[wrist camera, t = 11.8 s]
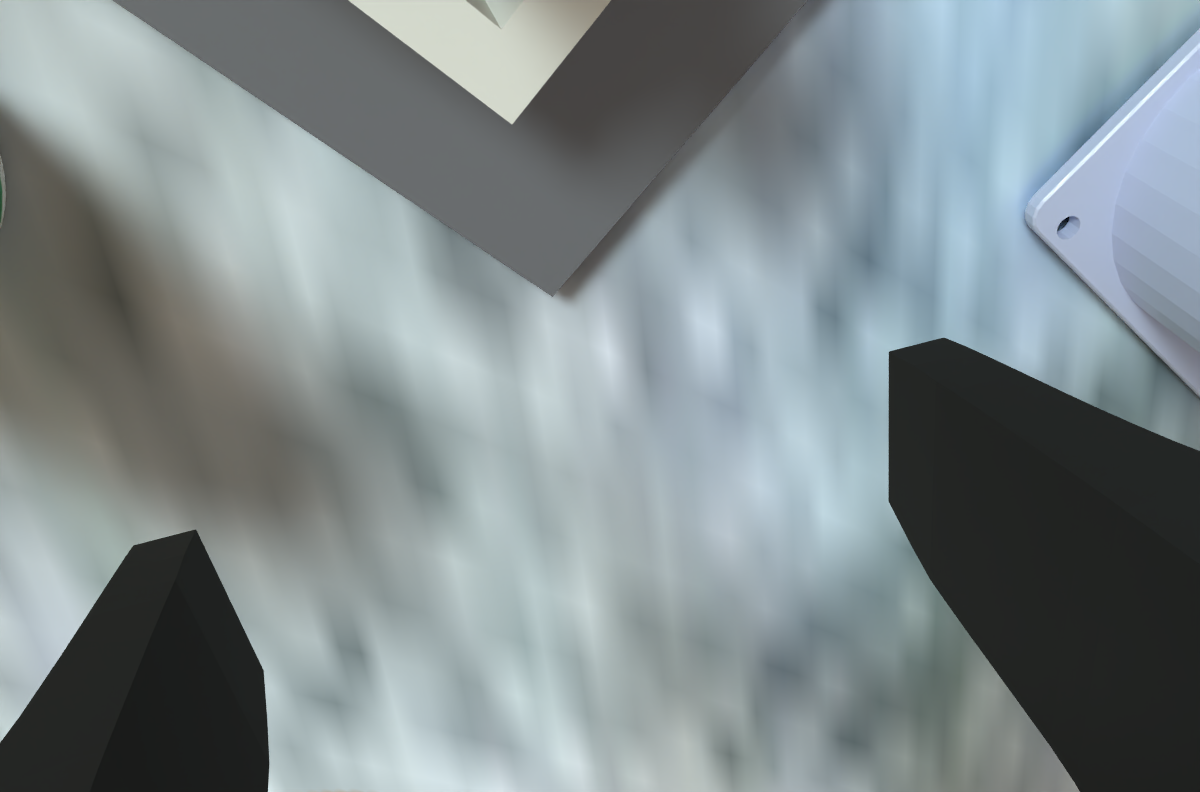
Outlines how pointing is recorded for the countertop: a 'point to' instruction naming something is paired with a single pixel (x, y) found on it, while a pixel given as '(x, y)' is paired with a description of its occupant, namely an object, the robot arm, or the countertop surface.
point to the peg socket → (490, 98)
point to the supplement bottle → (2, 192)
